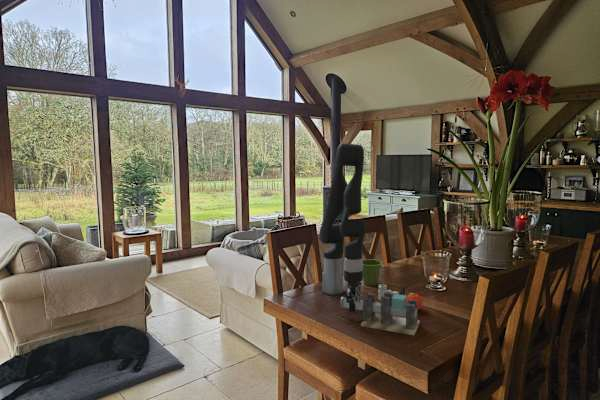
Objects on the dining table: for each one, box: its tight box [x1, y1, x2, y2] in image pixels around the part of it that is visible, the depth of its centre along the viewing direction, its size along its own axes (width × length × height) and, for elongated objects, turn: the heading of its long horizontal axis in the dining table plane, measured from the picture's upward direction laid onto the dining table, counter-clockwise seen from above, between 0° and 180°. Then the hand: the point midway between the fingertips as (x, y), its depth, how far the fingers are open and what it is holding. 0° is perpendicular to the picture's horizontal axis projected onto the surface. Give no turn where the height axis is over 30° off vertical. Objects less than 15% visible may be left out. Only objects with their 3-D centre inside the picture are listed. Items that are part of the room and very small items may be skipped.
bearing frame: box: [360, 292, 421, 336], centre depth 151 cm, size 20×12×12 cm, turn 64°
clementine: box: [405, 292, 424, 310], centre depth 166 cm, size 8×7×7 cm
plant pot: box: [362, 258, 383, 286], centre depth 200 cm, size 12×12×11 cm
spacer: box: [392, 294, 408, 310], centre depth 149 cm, size 4×5×4 cm
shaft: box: [339, 295, 418, 318], centre depth 153 cm, size 30×4×4 cm, turn 64°
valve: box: [377, 283, 406, 301], centre depth 177 cm, size 7×7×12 cm
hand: (353, 310), depth 158 cm, fingers closed on shaft, 3 cm apart
